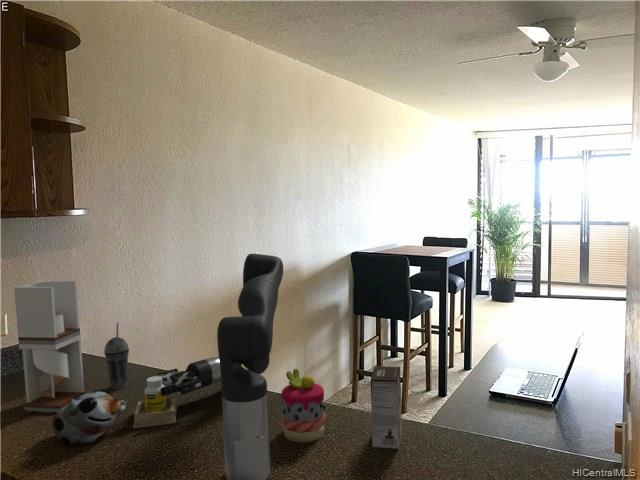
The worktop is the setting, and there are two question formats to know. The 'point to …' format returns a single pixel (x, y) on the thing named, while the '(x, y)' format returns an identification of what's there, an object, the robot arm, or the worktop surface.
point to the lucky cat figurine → (87, 417)
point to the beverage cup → (117, 361)
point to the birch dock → (155, 415)
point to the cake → (303, 408)
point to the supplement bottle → (154, 395)
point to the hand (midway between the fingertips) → (153, 388)
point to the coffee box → (386, 407)
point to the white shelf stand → (50, 344)
